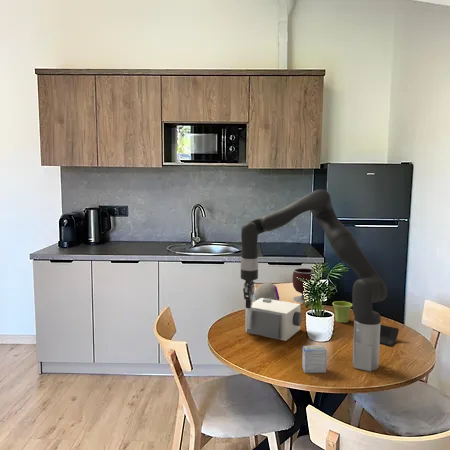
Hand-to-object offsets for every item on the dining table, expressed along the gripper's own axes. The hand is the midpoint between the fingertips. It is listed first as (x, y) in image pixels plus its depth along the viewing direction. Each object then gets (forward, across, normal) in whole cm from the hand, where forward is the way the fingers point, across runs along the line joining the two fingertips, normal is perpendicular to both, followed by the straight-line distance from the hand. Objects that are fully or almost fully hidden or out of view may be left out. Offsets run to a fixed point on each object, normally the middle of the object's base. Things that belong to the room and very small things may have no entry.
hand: (248, 306), depth 188 cm
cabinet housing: (+14, +10, -9) cm, 19 cm away
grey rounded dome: (+14, +38, -2) cm, 41 cm away
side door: (+13, -1, -6) cm, 14 cm away
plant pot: (+14, +32, -40) cm, 53 cm away
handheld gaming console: (+14, +11, -56) cm, 59 cm away
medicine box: (+14, -26, -30) cm, 42 cm away
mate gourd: (+14, +64, -20) cm, 69 cm away
